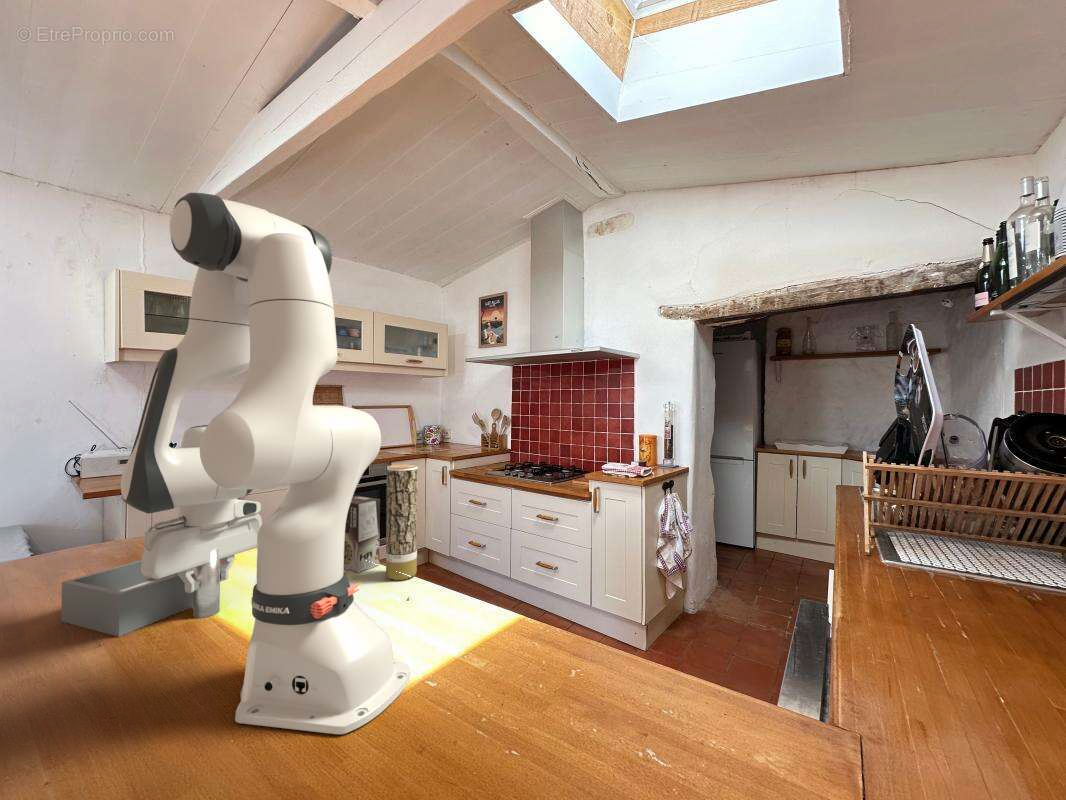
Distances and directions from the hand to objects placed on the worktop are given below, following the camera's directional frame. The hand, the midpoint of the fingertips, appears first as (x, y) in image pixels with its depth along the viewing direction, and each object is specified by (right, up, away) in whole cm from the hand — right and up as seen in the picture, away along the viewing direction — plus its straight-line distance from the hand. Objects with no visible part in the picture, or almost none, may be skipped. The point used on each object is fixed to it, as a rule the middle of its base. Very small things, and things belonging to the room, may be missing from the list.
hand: (207, 585), depth 84 cm
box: (-13, -5, +1) cm, 14 cm away
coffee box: (+18, -6, +25) cm, 32 cm away
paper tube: (+31, -6, +19) cm, 37 cm away
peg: (0, -5, 0) cm, 5 cm away
